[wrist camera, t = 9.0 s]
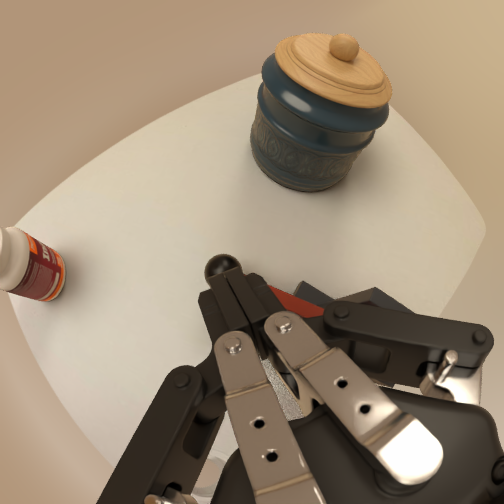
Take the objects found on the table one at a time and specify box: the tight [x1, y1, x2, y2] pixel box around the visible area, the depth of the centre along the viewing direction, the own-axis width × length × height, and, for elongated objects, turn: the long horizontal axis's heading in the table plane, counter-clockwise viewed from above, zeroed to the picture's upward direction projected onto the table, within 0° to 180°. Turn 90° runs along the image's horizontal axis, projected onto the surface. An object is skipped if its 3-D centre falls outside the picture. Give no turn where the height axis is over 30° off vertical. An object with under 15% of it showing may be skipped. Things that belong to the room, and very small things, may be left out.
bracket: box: [293, 281, 415, 388], centre depth 21 cm, size 9×8×13 cm
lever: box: [204, 254, 324, 318], centre depth 20 cm, size 16×3×3 cm
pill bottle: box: [0, 226, 66, 301], centre depth 20 cm, size 6×6×11 cm
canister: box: [250, 33, 392, 192], centre depth 24 cm, size 13×13×18 cm
